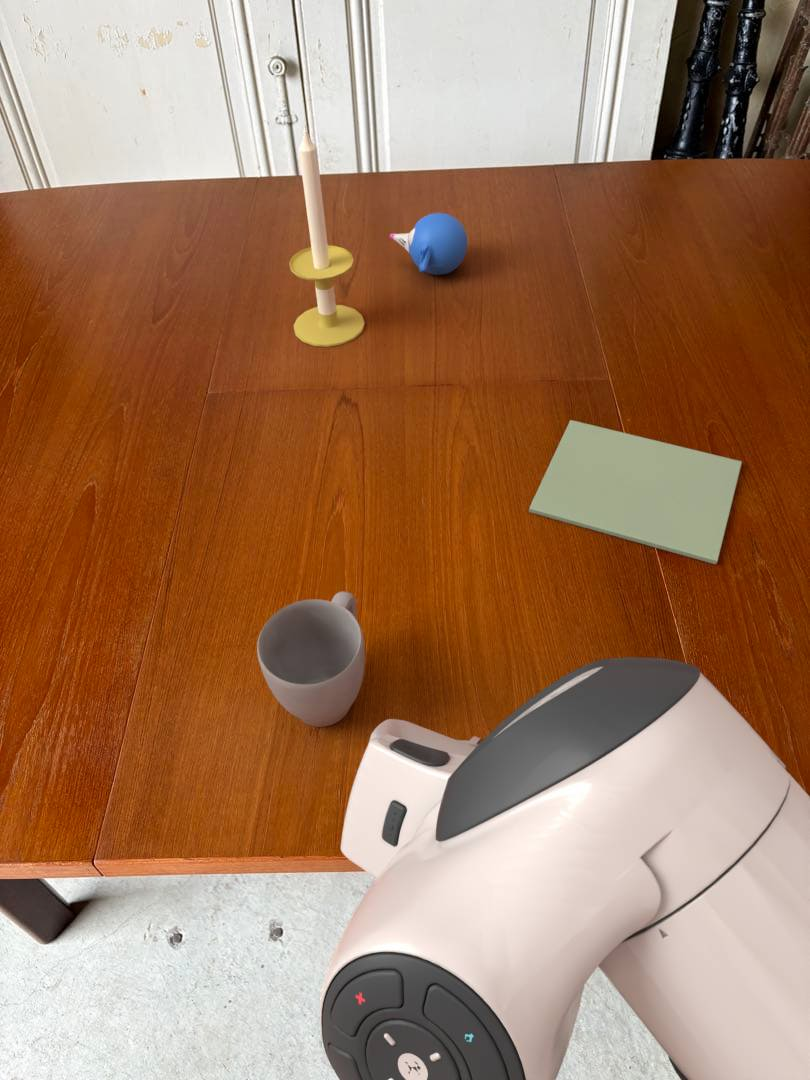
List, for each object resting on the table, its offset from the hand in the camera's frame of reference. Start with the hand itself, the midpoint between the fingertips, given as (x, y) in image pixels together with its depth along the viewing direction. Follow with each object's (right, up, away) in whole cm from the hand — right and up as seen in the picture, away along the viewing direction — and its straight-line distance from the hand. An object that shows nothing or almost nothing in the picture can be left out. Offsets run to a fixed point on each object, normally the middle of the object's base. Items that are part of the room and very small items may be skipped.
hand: (550, 776), depth 53 cm
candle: (-20, +45, +62) cm, 79 cm away
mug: (-16, +2, +23) cm, 28 cm away
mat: (+17, +21, +38) cm, 47 cm away
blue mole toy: (-6, +56, +71) cm, 91 cm away
